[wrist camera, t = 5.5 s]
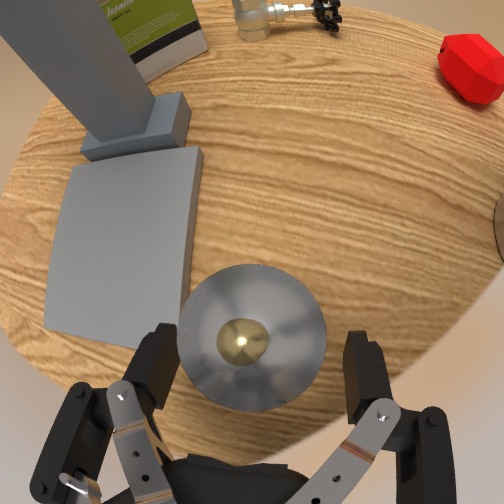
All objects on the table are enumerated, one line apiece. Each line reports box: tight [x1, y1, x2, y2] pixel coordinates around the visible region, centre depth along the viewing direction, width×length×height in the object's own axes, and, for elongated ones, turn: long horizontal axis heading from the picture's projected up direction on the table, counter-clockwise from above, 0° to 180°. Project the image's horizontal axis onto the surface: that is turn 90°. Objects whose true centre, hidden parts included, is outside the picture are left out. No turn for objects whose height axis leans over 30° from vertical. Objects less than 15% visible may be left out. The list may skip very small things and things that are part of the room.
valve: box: [232, 0, 342, 42], centre depth 24 cm, size 7×7×12 cm
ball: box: [437, 34, 504, 104], centre depth 18 cm, size 8×8×8 cm
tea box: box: [97, 0, 208, 84], centre depth 22 cm, size 15×10×15 cm, turn 32°
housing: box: [177, 264, 327, 412], centre depth 13 cm, size 5×5×12 cm
